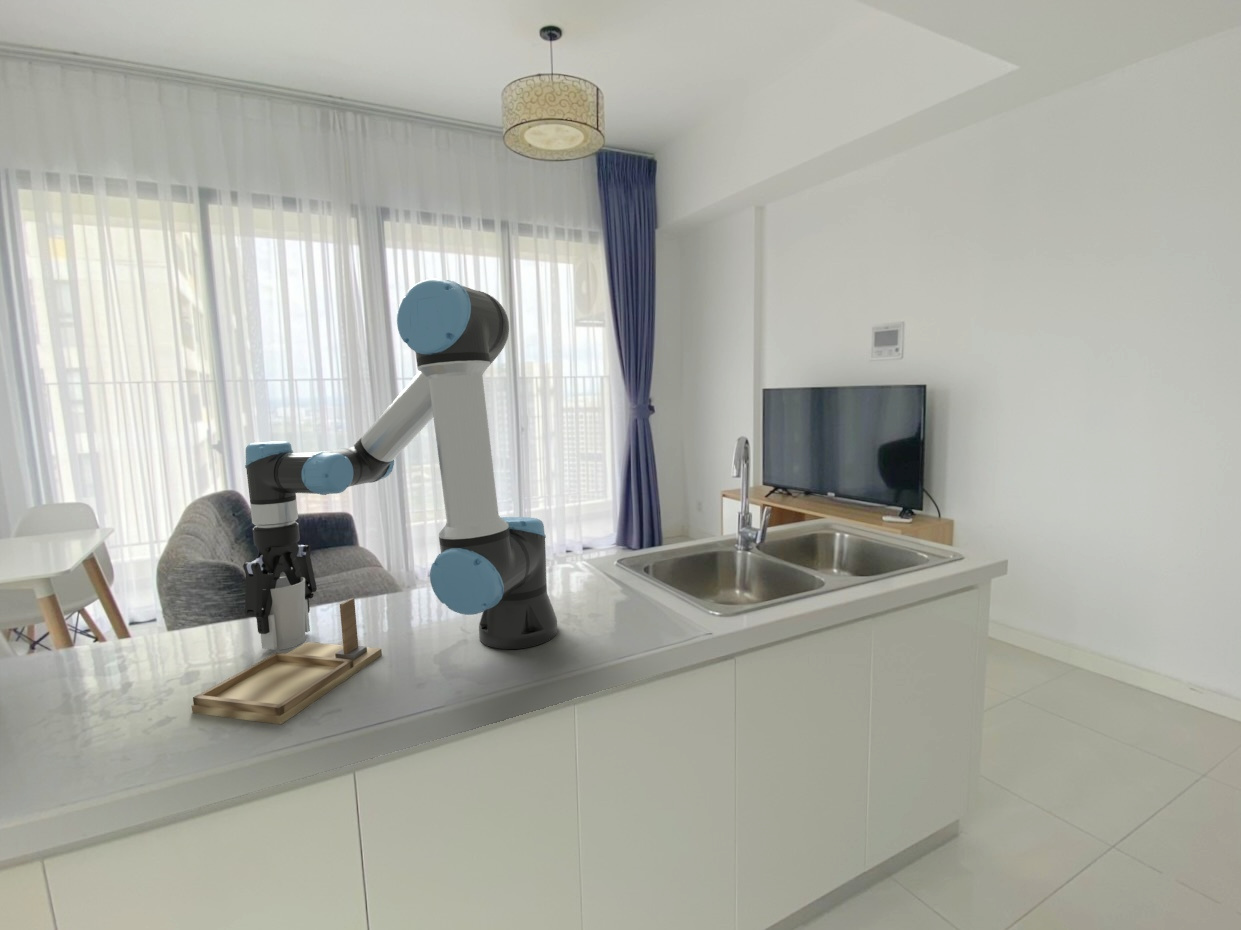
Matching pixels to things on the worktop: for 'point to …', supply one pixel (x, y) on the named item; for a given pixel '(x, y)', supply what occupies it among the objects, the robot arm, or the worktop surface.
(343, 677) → the board
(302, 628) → the cup
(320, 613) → the worktop surface
